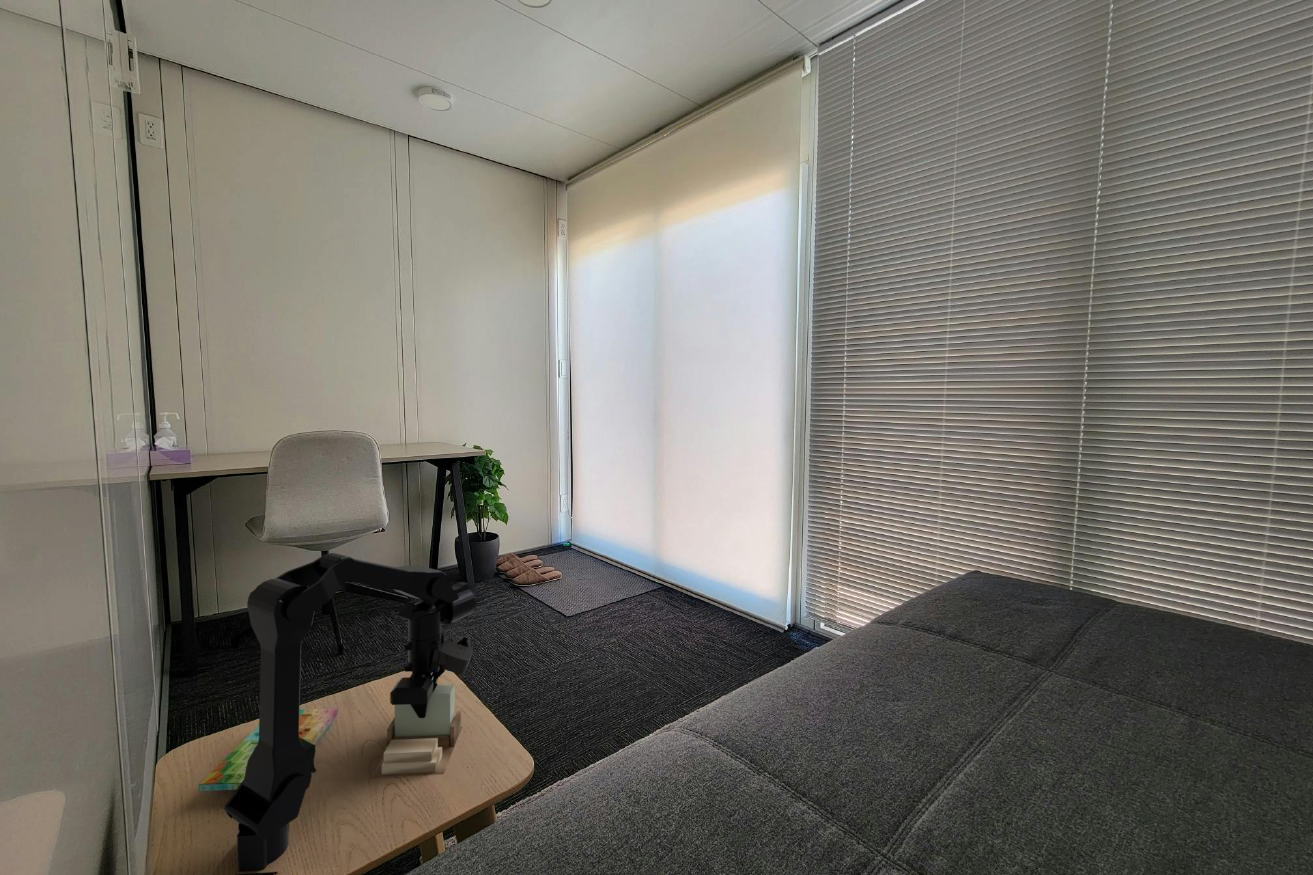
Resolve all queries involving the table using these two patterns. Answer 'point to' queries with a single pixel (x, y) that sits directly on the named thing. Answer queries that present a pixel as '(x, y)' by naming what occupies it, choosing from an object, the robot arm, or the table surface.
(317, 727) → the puzzle game
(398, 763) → the offcut stack
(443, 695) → the board
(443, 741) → the rack
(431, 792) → the table surface
